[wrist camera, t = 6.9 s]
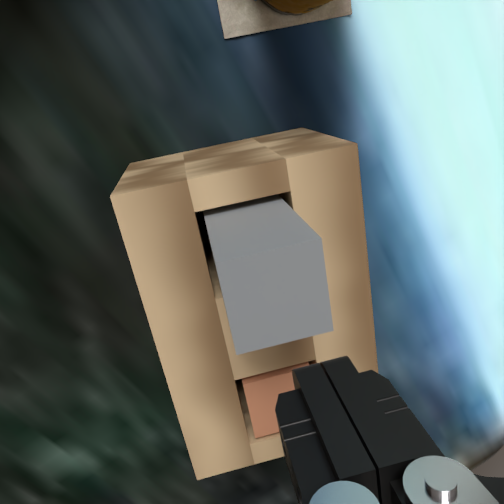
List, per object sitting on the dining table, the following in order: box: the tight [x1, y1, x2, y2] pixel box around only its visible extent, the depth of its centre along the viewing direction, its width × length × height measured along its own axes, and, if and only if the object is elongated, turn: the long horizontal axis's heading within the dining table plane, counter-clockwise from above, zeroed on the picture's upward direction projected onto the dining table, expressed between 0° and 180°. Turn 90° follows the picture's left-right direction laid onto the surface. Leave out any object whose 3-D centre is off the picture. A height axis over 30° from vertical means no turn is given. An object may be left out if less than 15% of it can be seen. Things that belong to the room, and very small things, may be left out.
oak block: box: [110, 128, 378, 480], centre depth 29 cm, size 12×18×10 cm, turn 11°
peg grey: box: [203, 194, 334, 355], centre depth 21 cm, size 4×4×8 cm
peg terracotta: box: [242, 362, 309, 438], centre depth 30 cm, size 4×4×8 cm
